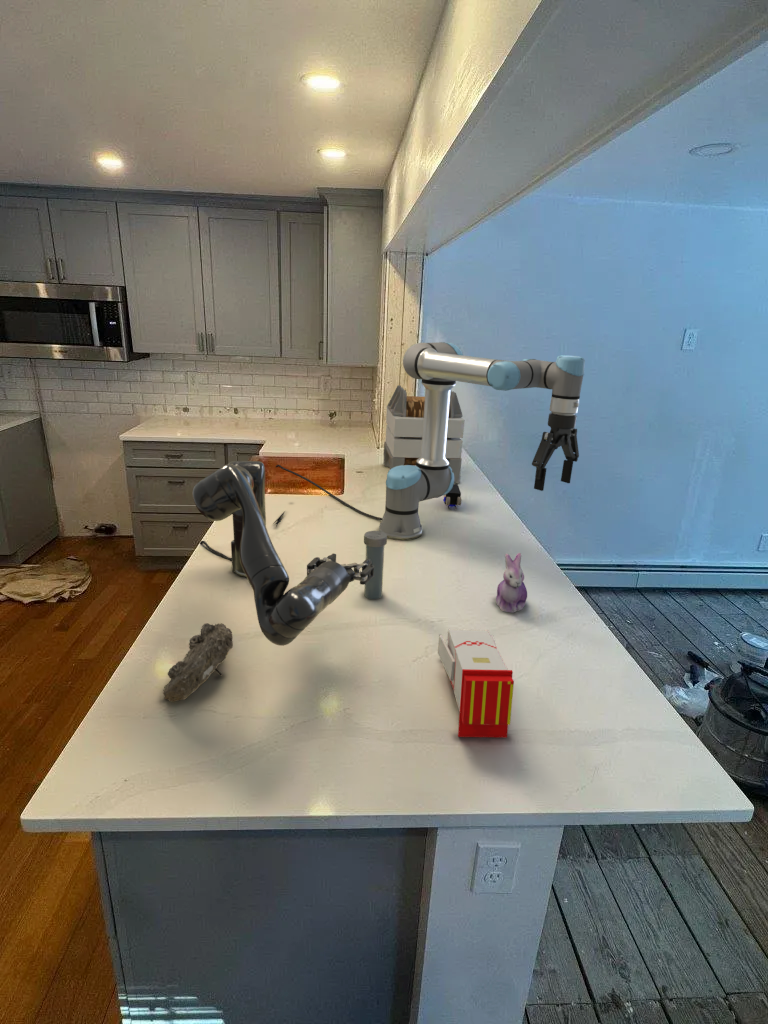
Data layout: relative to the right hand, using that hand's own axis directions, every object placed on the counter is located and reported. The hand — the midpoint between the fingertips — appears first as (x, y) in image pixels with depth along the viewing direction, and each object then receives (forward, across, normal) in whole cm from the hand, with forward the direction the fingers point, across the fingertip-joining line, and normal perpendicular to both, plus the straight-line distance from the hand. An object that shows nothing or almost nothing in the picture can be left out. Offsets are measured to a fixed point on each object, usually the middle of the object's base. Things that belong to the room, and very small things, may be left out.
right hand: (552, 485), depth 166 cm
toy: (+28, -62, -26) cm, 72 cm away
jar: (+28, -51, +19) cm, 61 cm away
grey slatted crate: (+28, +46, +101) cm, 115 cm away
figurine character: (+28, +24, +59) cm, 70 cm away
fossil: (+28, -102, +13) cm, 107 cm away
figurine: (+28, -24, -8) cm, 38 cm away
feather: (+28, -38, +87) cm, 99 cm away
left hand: (+9, -67, +8) cm, 68 cm away
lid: (+10, -51, +19) cm, 55 cm away
